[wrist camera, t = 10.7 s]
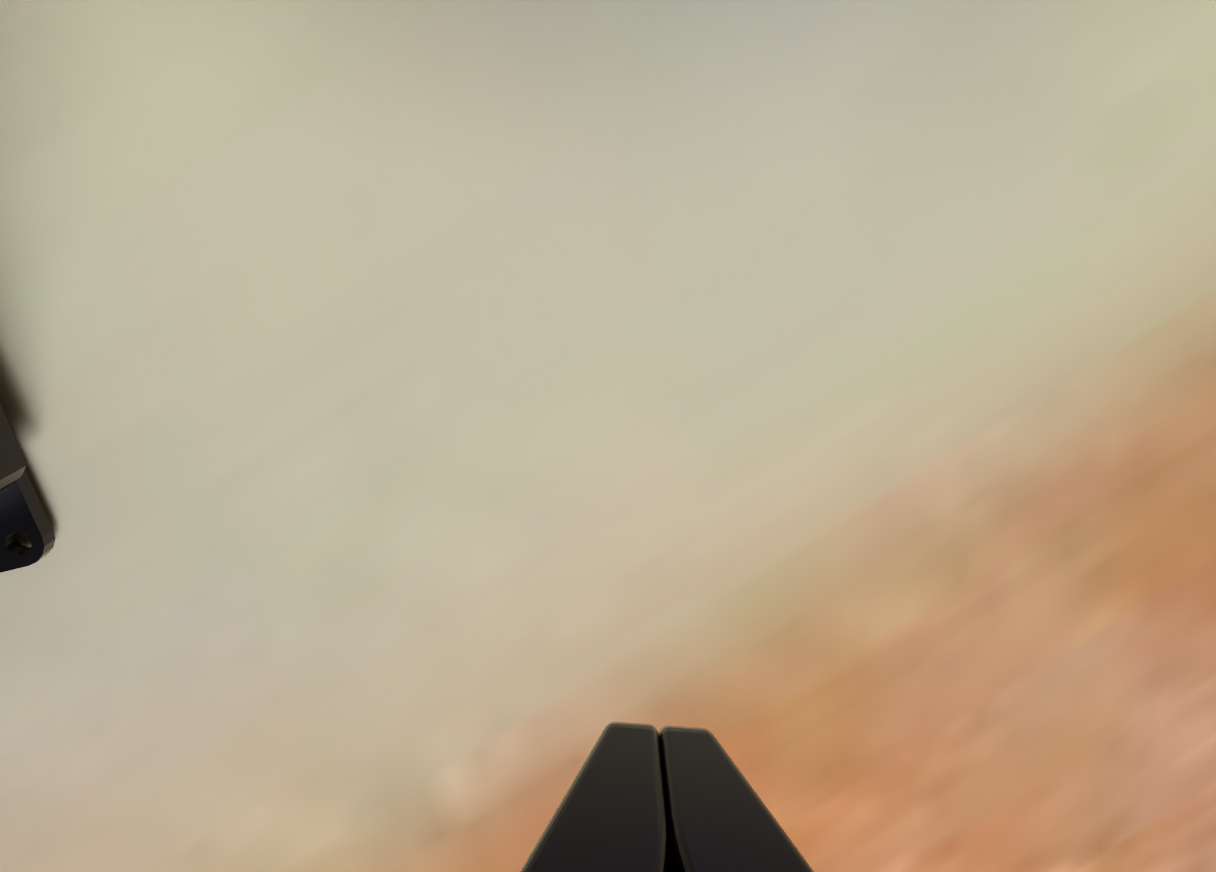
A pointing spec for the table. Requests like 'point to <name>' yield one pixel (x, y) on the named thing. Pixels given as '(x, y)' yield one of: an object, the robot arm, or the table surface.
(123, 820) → the table surface
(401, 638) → the table surface
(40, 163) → the table surface
